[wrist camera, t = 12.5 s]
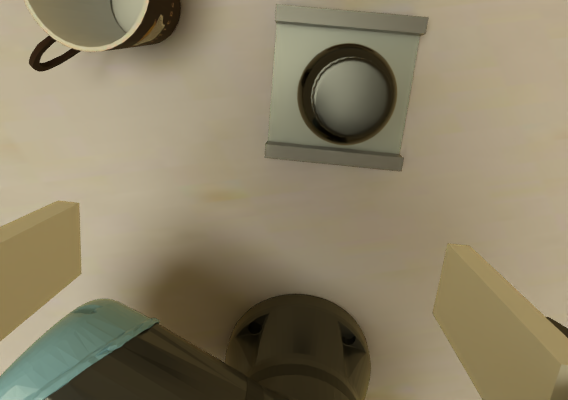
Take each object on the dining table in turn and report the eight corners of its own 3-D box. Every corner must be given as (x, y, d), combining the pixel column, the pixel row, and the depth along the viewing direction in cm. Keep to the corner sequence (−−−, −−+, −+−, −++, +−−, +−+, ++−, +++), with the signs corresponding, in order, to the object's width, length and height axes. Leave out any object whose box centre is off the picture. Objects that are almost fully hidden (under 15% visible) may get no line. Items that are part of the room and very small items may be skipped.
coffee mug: (172, -67, 34) (118, -122, 25) (207, 41, 36) (170, 28, 27) (48, -20, 36) (-48, -55, 26) (88, 80, 38) (13, 81, 28)
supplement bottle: (338, 32, 35) (351, 10, 23) (395, 88, 36) (434, 94, 24) (284, 94, 37) (271, 102, 25) (339, 146, 38) (352, 177, 26)
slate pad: (396, 165, 38) (401, 171, 36) (267, 152, 39) (264, 157, 37) (420, 21, 35) (428, 17, 32) (278, 8, 35) (276, 4, 33)
